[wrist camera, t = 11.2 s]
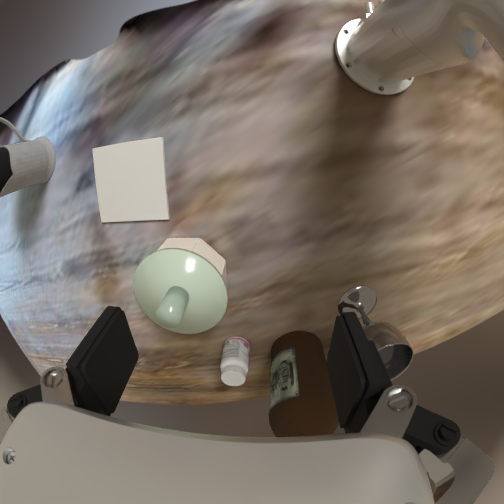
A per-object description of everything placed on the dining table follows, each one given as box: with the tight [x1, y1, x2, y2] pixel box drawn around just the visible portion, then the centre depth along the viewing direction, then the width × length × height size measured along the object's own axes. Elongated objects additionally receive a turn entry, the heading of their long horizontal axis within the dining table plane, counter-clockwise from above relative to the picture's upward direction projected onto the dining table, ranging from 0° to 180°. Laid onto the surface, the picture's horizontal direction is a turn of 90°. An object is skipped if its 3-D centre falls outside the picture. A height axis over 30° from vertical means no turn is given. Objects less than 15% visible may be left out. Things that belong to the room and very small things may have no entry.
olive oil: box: [269, 331, 339, 437], centre depth 37 cm, size 11×11×25 cm
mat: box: [93, 137, 170, 222], centre depth 36 cm, size 12×12×1 cm
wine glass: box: [338, 286, 413, 380], centre depth 37 cm, size 8×8×15 cm
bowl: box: [157, 237, 227, 287], centre depth 39 cm, size 12×12×6 cm
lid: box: [133, 248, 228, 334], centre depth 34 cm, size 14×14×6 cm
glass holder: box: [0, 117, 56, 197], centre depth 27 cm, size 9×14×15 cm, turn 13°
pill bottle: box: [220, 337, 250, 386], centre depth 44 cm, size 5×5×8 cm
